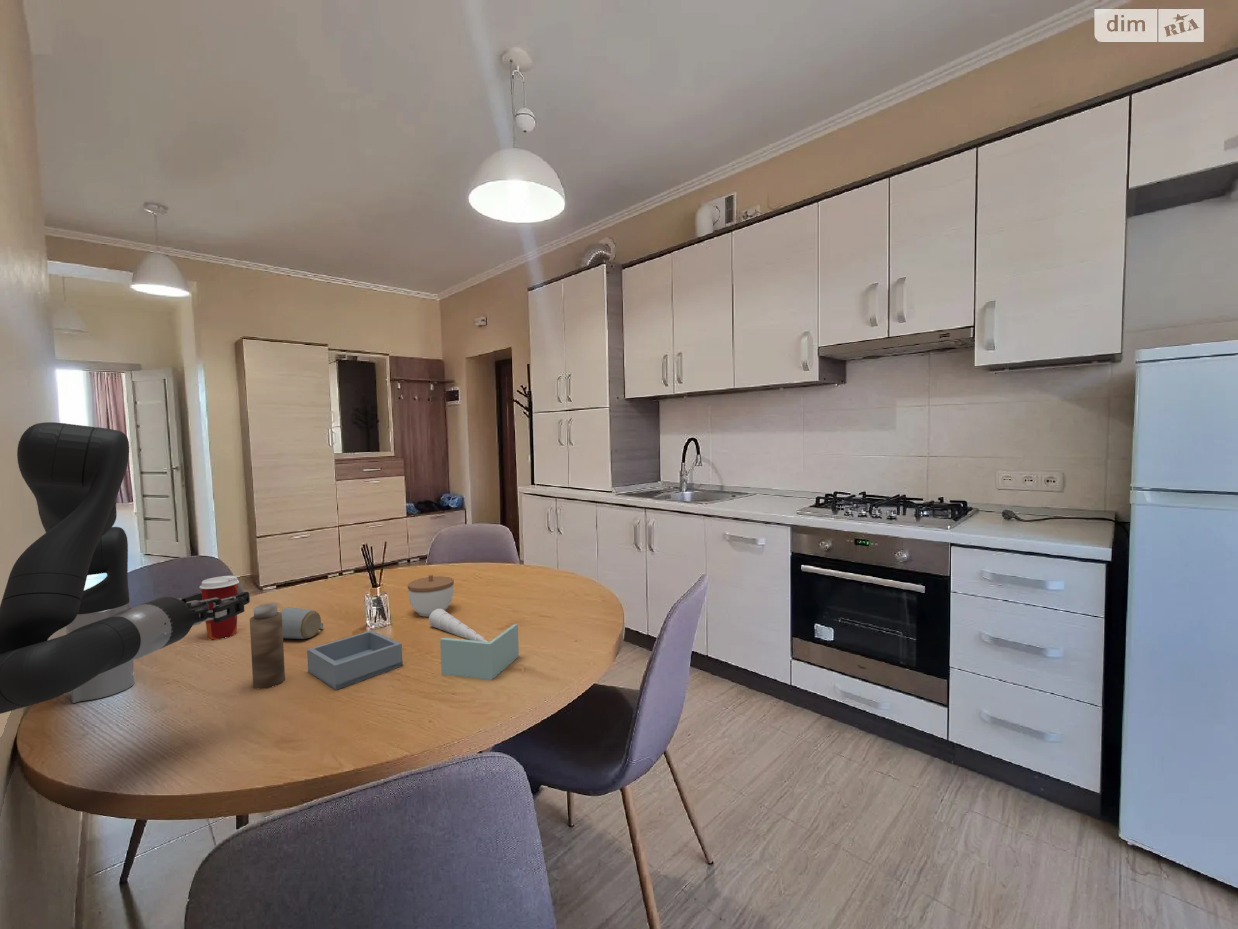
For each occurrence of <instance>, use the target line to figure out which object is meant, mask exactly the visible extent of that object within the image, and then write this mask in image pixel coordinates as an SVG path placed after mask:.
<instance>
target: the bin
mask: <svg viewBox="0 0 1238 929" xmlns="http://www.w3.org/2000/svg"><path fill="white" fill-rule="evenodd" d="M306 653H307V671H308V673H309V674H311V675H312V676H313V677H315V678H316V679H318V680H320V681H322V682H323V683H324V684H325V685H328V686H329V687H330V688H332V689H333V690H335V691H337V690H340V689H342V688H343V689H344V688H346V687H349V686H351V685H354V684H356V683H359V682H362V681H365V680H367V679H370V678H373V677H376V676H379V675H381V674H384V673H387V672H390V671H392V670H395V669H397V668H400V667H403V663H404V662H403V661H404V660H403V644H402V643H401V642H399V641H397V640H394V639H392V638H391V637H388V636H386V635H384V634H381V633H379V632H377V631H375V630H372V629H371V630H368V631H364V632H361V633H357V634H354V635H350V636H348V637H343V638H341V639H337V640H333V641H331V642H326V643H324V644H320V645H317V646H314V647H310V648H307V649H306Z"/></svg>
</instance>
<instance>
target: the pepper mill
mask: <svg viewBox="0 0 1238 929" xmlns="http://www.w3.org/2000/svg"><path fill="white" fill-rule="evenodd" d="M280 612H281V611H278V604H277V603H267V604H260V605H258V606H255V607H254V608H253V616H252V617H249V630H250V636H249V637H250V648H251V649H250V652H251V668H252V671H251V672H252V687H253V689H255V688H266V689H269V687H270V688H273V687H272V686H274V687H276V686H275V685H277V686H278V684H279V685H281V684H282V682H283V681H284V682H285V681H286V668H285V652H284V648H285V647H284V638H283V627H282V613H280ZM284 682H283V683H284Z"/></svg>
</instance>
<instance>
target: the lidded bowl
mask: <svg viewBox="0 0 1238 929" xmlns="http://www.w3.org/2000/svg"><path fill="white" fill-rule="evenodd" d="M407 589H408V591H407V592H408V599H409V603H410V607H411V608H412V609H413V610H414V611H415V612H416V613H417V614H418V616H420V617H424V618H425V617H427V618H429V616H430V614H431V613H432V612H433V611H434V610H436V609H443V610H444V611H446V610H447V609H448V608H449V607H450V605H451V603H452V601H453V596H454V578H452V577H449V576H445V575H442V576H438V575H437V576H434V575H433V574H428V576H427V577H421V578H417V579H414V580H411V581H409V583H407Z"/></svg>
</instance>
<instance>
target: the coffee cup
mask: <svg viewBox="0 0 1238 929" xmlns="http://www.w3.org/2000/svg"><path fill="white" fill-rule="evenodd" d="M239 583H240V580H238V577H237V576H236V575H223V576H222V575H221V576H215V577H211V578H206V579H204V580H202V581H201V584H200V585H199V589H200V590H201V593H202V597H203V600H206V599H211V598H219V599H224V598H229V597H232V596H235V595H237V594H239V593H238V592H239V590H238V587H239ZM225 603H226V602H225ZM222 604H223V603H222ZM208 605H209V611H211V610H213V607H214V605H213V603H208ZM205 628H206V634H207V639H208V638H209V639H219V640H221V639H220V638H224V639H226V638H225V637H228V638H230V636H231V637H234V636H235V635H237V633H238V631H237V629H238V615H235V616H233V617H230V618H228V619H226V620H223V621H221V622H219V623H214V622H213V620H209V621H205ZM234 634H235V635H234ZM233 635H234V636H233ZM209 639H208V640H209Z"/></svg>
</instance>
